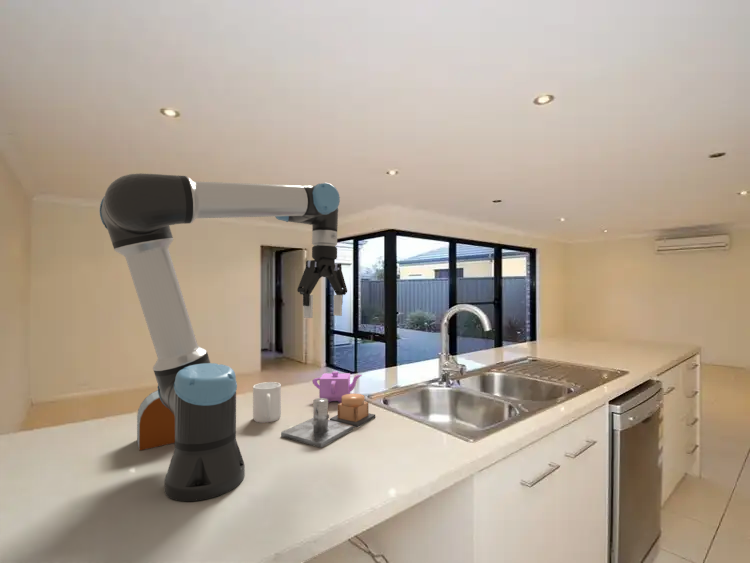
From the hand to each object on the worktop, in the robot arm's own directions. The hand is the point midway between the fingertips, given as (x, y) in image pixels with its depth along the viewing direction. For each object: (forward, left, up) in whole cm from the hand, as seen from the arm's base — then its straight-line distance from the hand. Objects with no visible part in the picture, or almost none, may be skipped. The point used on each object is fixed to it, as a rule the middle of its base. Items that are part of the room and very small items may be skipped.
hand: (323, 316), depth 112 cm
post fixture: (-7, -5, -32) cm, 33 cm away
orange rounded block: (-30, +28, -32) cm, 52 cm away
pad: (+7, -6, -32) cm, 33 cm away
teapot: (+20, +10, -32) cm, 39 cm away
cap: (+7, -6, -31) cm, 32 cm away
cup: (-7, +16, -32) cm, 36 cm away
